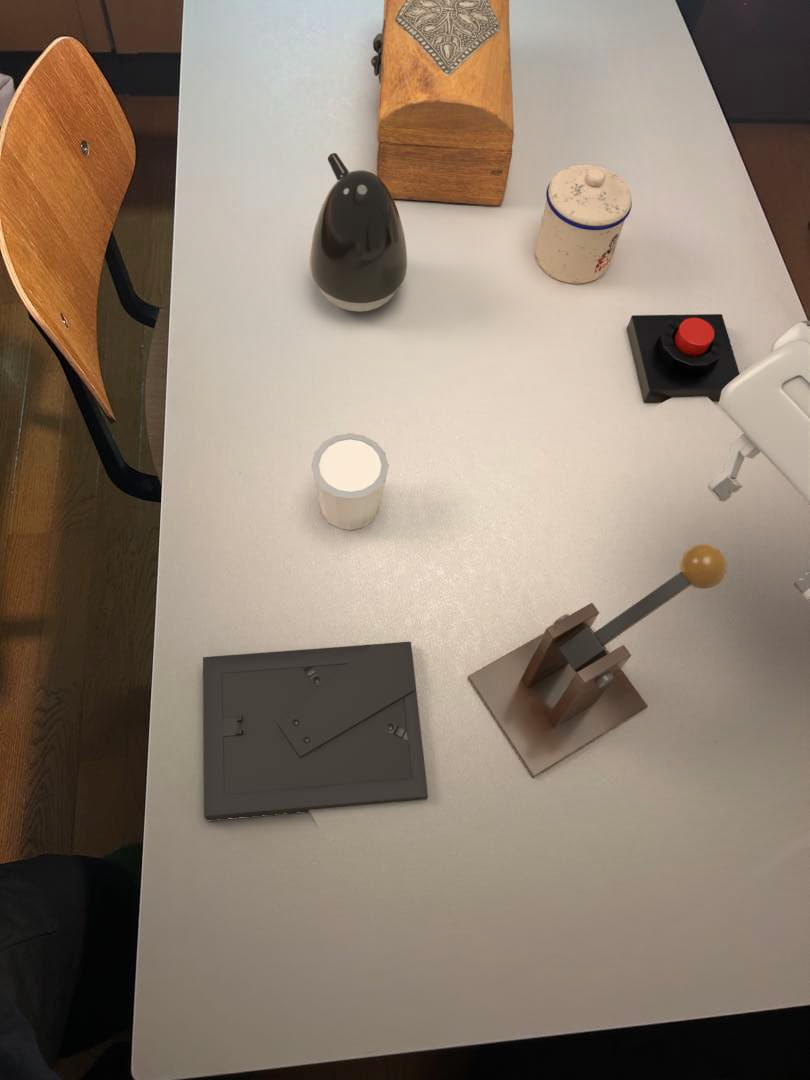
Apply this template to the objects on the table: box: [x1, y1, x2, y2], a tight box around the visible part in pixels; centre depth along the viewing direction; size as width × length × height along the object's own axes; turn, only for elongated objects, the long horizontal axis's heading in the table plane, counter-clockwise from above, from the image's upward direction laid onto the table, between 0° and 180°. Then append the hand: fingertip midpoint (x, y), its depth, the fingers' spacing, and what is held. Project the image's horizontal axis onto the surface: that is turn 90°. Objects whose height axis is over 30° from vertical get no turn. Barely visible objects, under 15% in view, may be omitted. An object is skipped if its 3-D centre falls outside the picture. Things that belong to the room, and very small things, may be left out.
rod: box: [558, 543, 728, 672], centre depth 71 cm, size 14×3×3 cm, turn 121°
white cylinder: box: [311, 433, 389, 531], centre depth 86 cm, size 7×7×7 cm
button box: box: [626, 313, 741, 404], centre depth 98 cm, size 10×10×4 cm
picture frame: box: [202, 641, 429, 821], centre depth 78 cm, size 13×2×18 cm
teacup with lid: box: [534, 164, 633, 285], centre depth 102 cm, size 12×9×12 cm
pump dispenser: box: [309, 152, 408, 312], centre depth 95 cm, size 10×10×15 cm
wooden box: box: [370, 0, 515, 206], centre depth 110 cm, size 30×16×14 cm, turn 178°
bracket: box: [467, 602, 648, 779], centre depth 76 cm, size 12×10×13 cm
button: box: [674, 318, 714, 356], centre depth 96 cm, size 4×4×2 cm
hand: (756, 542), depth 69 cm, fingers open, 8 cm apart
